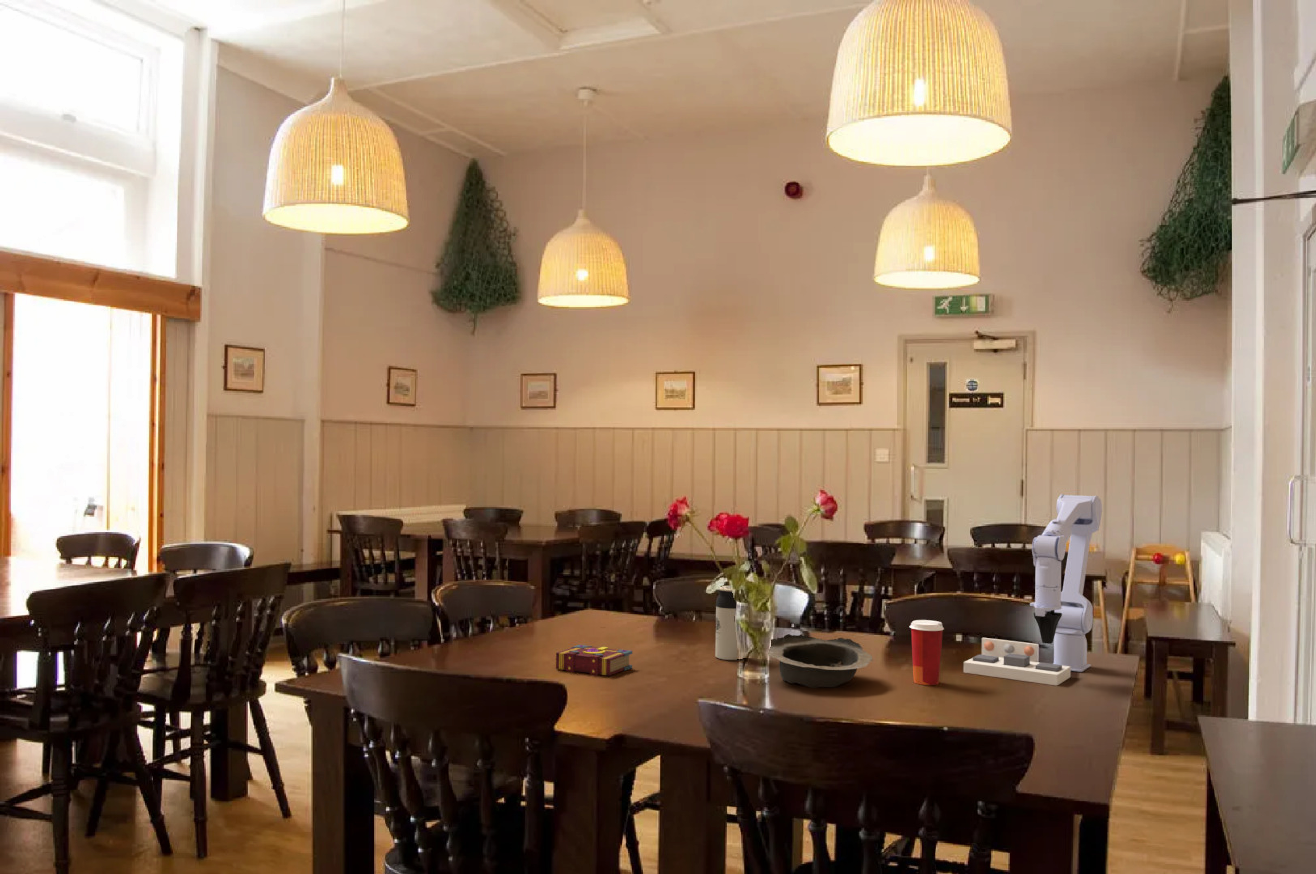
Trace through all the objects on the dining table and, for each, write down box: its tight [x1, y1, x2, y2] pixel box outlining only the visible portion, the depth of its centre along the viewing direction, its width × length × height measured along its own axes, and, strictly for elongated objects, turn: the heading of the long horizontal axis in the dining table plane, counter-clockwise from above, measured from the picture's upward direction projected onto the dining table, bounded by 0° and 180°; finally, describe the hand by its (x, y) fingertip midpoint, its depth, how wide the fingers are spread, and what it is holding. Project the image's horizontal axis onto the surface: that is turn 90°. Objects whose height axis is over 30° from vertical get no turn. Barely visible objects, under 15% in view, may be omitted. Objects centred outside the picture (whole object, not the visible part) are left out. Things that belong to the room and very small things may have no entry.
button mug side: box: [972, 653, 999, 663], centre depth 253 cm, size 5×5×3 cm
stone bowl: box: [766, 633, 874, 689], centre depth 237 cm, size 25×25×9 cm
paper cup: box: [909, 619, 945, 686], centre depth 238 cm, size 8×8×14 cm
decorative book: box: [555, 644, 633, 676], centre depth 247 cm, size 11×16×5 cm
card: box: [981, 637, 1040, 663], centre depth 260 cm, size 1×14×6 cm, turn 54°
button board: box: [963, 657, 1072, 687], centre depth 248 cm, size 12×22×2 cm, turn 54°
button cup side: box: [1036, 662, 1062, 672], centre depth 244 cm, size 5×5×3 cm
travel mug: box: [714, 585, 738, 661], centre depth 263 cm, size 8×8×18 cm
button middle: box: [1004, 653, 1030, 668], centre depth 248 cm, size 5×5×3 cm
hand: (1047, 643), depth 245 cm, fingers closed
